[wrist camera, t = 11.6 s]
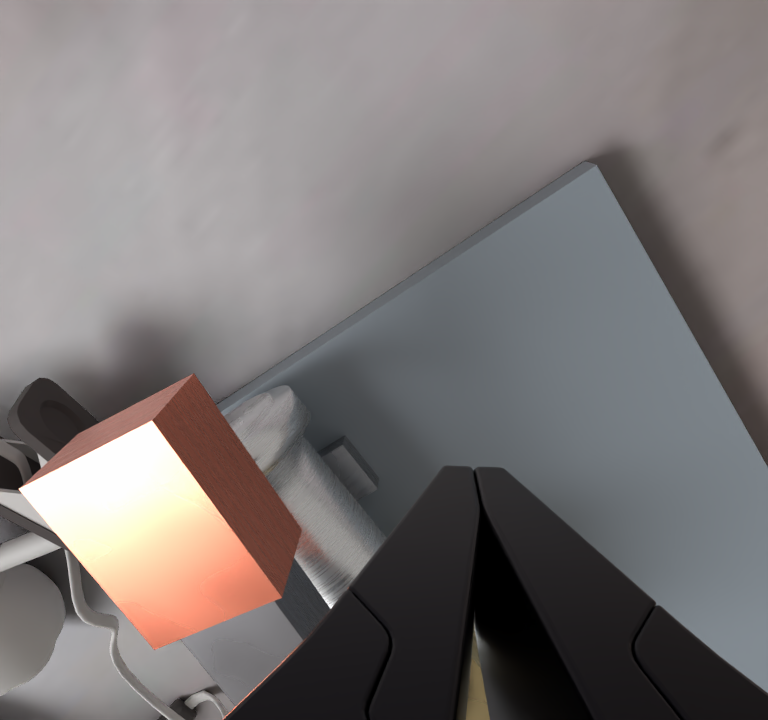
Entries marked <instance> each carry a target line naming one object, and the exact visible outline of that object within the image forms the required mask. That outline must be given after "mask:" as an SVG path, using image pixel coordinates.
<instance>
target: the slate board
mask: <svg viewBox="0 0 768 720" xmlns="http://www.w3.org/2000/svg"><path fill="white" fill-rule="evenodd" d="M282 385H287V386H289V387H290V388H291V389H292V391H293V392H294V393H295V394H296V395H297V397H298V398H299V399H300V400H301V402H302V403H303V404H304V405H305V407H306V408H307V409H308V410H309V412H310V414H311V419H310V423H309V425H308V427H307V429H306V431H305V433H304V434H303V436H304V437H305V438H306V440H307V441H308V442H309V443H310V444H311V446H312V447H313V448H314V449H315V451H316V452H318V451H319V450H321V449H323V448H324V447H326V446H328V445H329V444H331V443H333V442H334V441H336V440H338V439H339V438H341V437H342V436H344V435H346V437H347V438H348V439H349V440H350V442H351V443H352V444H353V445H354V447H355V448H356V449H357V451H358V452H359V453H360V454H361V456H362V457H363V458H364V459H365V461H366V462H367V463H368V464H369V466H370V467H371V468H372V469H373V471H374V472H375V473H376V475H377V476H378V477H379V484H378V489H377V490H375V491H374V492H372V493H370V494H368V495H367V496H365V497H363V498H361V499H360V500H358V501H357V502H358V503H359V505H360V506H361V507H362V508H363V509H364V511H365V512H366V513H367V514H368V516H369V517H370V518H371V519H372V520H373V522H374V523H375V524H376V525H377V527H378V528H379V529H380V530H381V532H382V533H383V534H384V535H385V536H386V538H387V537H388V536H389V534H390V533H391V532H392V531H393V529H394V528H395V527H396V525H397V524H398V523H399V522H400V520H401V519H402V518H403V517H404V515H405V514H406V513H407V511H408V510H409V509H410V508H411V506H412V505H413V504H414V503H415V501H416V500H417V499H418V497H419V496H420V495H421V494H422V492H423V491H424V490H425V489H426V487H427V486H428V485H429V483H430V482H431V481H432V480H433V478H434V477H435V476H436V475H437V473H438V472H439V471H440V469H441V468H442V467H443V466H446V465H450V466H469V467H471V468H472V469H473V471H474V469H475V468H477V467H501V468H504V469H506V470H507V471H508V472H509V473H510V474H512V475H513V476H514V477H515V478H516V479H517V480H518V481H519V482H521V483H522V484H523V485H524V486H525V487H526V488H527V489H529V490H530V491H531V492H532V493H533V494H534V495H535V496H537V497H538V498H539V499H540V500H541V501H542V502H543V503H544V504H546V505H547V506H548V507H549V508H550V509H551V510H552V511H554V512H555V513H556V514H557V515H558V516H559V517H560V518H561V519H563V520H564V521H565V522H566V523H567V524H568V525H569V526H571V527H572V528H573V529H574V530H575V531H576V532H577V533H579V534H580V535H581V536H582V537H583V538H584V539H585V540H586V541H588V542H589V543H590V544H591V545H592V546H593V547H594V548H596V549H597V550H598V551H599V552H600V553H601V554H602V555H603V556H605V557H606V558H607V559H608V560H609V561H610V562H611V563H613V564H614V565H615V566H616V567H617V568H618V569H619V570H621V571H622V572H623V573H624V574H625V575H626V576H627V577H628V578H630V579H631V580H632V581H633V582H634V583H635V584H636V585H638V586H639V587H640V588H641V589H642V590H643V591H644V592H645V593H647V594H648V595H649V596H650V597H651V598H652V599H653V600H655V602H656V606H657V605H660V606H662V607H663V608H664V609H665V610H666V611H667V612H669V613H670V614H671V615H672V616H673V617H674V618H675V619H676V620H678V621H679V622H680V623H681V624H682V625H683V626H685V627H686V628H687V629H688V630H689V631H690V632H692V633H693V634H694V635H695V636H696V637H698V638H699V639H700V640H701V641H702V642H704V643H705V644H706V645H707V646H708V647H710V648H711V649H712V650H713V651H714V652H716V653H717V654H718V655H719V656H720V657H722V658H723V659H724V660H725V661H727V662H728V663H729V664H731V665H732V666H733V667H735V668H736V669H737V670H738V671H740V672H741V673H742V674H744V675H745V676H746V677H748V678H749V679H750V680H751V681H753V682H754V683H755V684H757V685H758V686H759V687H761V688H762V689H763V690H764V691H766V692H767V693H768V467H767V465H766V463H765V461H764V459H763V458H762V456H761V454H760V452H759V451H758V449H757V447H756V445H755V444H754V442H753V440H752V438H751V437H750V435H749V433H748V431H747V429H746V428H745V426H744V424H743V422H742V421H741V419H740V417H739V415H738V414H737V412H736V410H735V408H734V407H733V405H732V403H731V401H730V399H729V398H728V396H727V394H726V392H725V391H724V389H723V387H722V385H721V384H720V382H719V380H718V378H717V376H716V375H715V373H714V371H713V369H712V368H711V366H710V364H709V362H708V361H707V359H706V357H705V355H704V354H703V352H702V350H701V348H700V346H699V345H698V343H697V341H696V339H695V338H694V336H693V334H692V332H691V331H690V329H689V327H688V325H687V324H686V322H685V320H684V318H683V316H682V315H681V313H680V311H679V309H678V308H677V306H676V304H675V302H674V301H673V299H672V297H671V295H670V293H669V292H668V290H667V288H666V286H665V285H664V283H663V281H662V279H661V278H660V276H659V274H658V272H657V271H656V269H655V267H654V265H653V263H652V262H651V260H650V258H649V256H648V255H647V253H646V251H645V249H644V248H643V246H642V244H641V242H640V240H639V239H638V237H637V235H636V233H635V232H634V230H633V228H632V226H631V225H630V223H629V221H628V219H627V218H626V216H625V214H624V212H623V210H622V209H621V207H620V205H619V203H618V202H617V200H616V198H615V196H614V195H613V193H612V191H611V189H610V188H609V186H608V184H607V182H606V180H605V179H604V177H603V175H602V173H601V172H600V170H599V168H598V166H597V165H595V164H592V163H590V162H587V161H584V162H582V163H581V164H579V165H578V166H576V167H575V168H573V169H572V170H570V171H569V172H567V173H566V174H564V175H563V176H561V177H560V178H558V179H557V180H555V181H553V182H552V183H550V184H549V185H547V186H546V187H544V188H543V189H541V190H540V191H538V192H537V193H535V194H534V195H532V196H531V197H529V198H528V199H526V200H525V201H523V202H522V203H520V204H519V205H517V206H516V207H514V208H513V209H511V210H510V211H508V212H507V213H505V214H504V215H502V216H501V217H499V218H498V219H496V220H495V221H493V222H492V223H490V224H489V225H487V226H486V227H484V228H483V229H481V230H480V231H478V232H477V233H475V234H474V235H472V236H470V237H469V238H467V239H466V240H464V241H463V242H461V243H460V244H458V245H457V246H455V247H454V248H452V249H451V250H449V251H448V252H446V253H445V254H443V255H442V256H440V257H439V258H437V259H436V260H434V261H433V262H431V263H430V264H428V265H427V266H425V267H424V268H422V269H421V270H419V271H418V272H416V273H415V274H413V275H412V276H410V277H409V278H407V279H406V280H404V281H403V282H401V283H400V284H398V285H397V286H395V287H394V288H392V289H390V290H389V291H387V292H386V293H384V294H383V295H381V296H380V297H378V298H377V299H375V300H374V301H372V302H371V303H369V304H368V305H366V306H365V307H363V308H362V309H360V310H359V311H357V312H356V313H354V314H353V315H351V316H350V317H348V318H347V319H345V320H344V321H342V322H341V323H339V324H338V325H336V326H335V327H333V328H332V329H330V330H329V331H327V332H326V333H324V334H323V335H321V336H320V337H318V338H317V339H315V340H314V341H312V342H310V343H309V344H307V345H306V346H304V347H303V348H301V349H300V350H298V351H297V352H295V353H294V354H292V355H291V356H289V357H288V358H286V359H285V360H283V361H282V362H280V363H279V364H277V365H276V366H274V367H273V368H271V369H270V370H268V371H267V372H265V373H264V374H262V375H261V376H259V377H258V378H256V379H255V380H253V381H252V382H250V383H249V384H247V385H246V386H244V387H243V388H241V389H240V390H238V391H237V392H235V393H234V394H232V395H231V396H229V397H227V398H226V399H224V400H223V401H221V402H220V403H218V404H217V405H216V406H217V407H218V409H219V410H220V412H221V413H222V415H223V416H225V415H226V414H227V413H229V412H230V411H231V410H233V409H234V408H236V407H237V406H239V405H240V404H242V403H244V402H245V401H247V400H249V399H251V398H253V397H255V396H257V395H259V394H262V393H264V392H266V391H268V390H270V389H273V388H275V387H278V386H282Z"/></svg>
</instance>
